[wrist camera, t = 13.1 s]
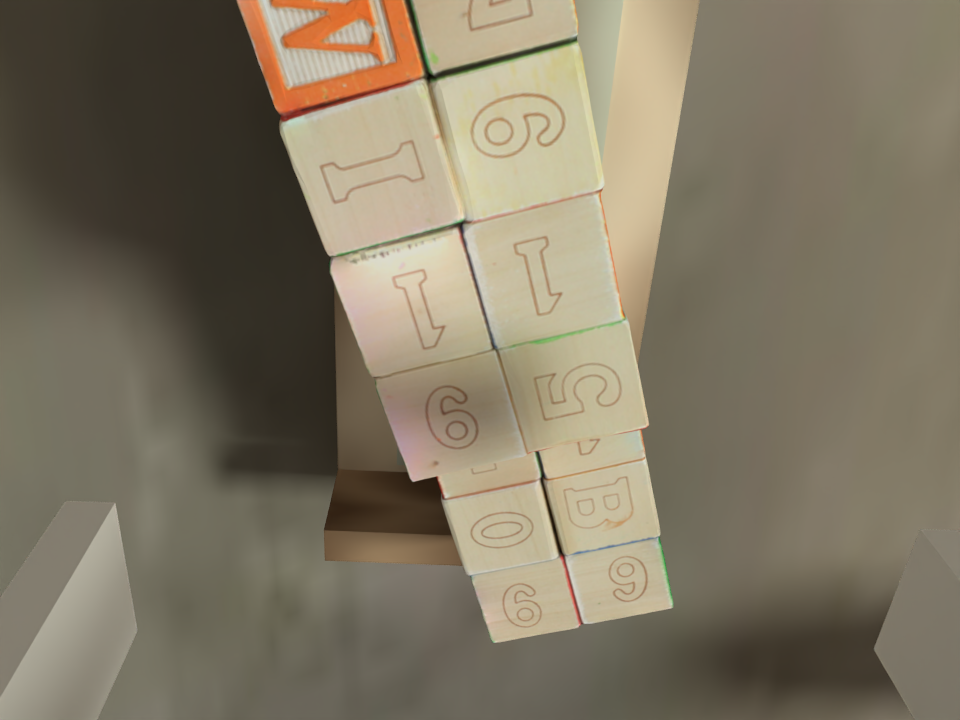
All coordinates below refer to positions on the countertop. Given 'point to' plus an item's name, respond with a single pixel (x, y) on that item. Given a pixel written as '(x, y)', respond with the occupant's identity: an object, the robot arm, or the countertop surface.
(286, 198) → the countertop surface
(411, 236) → the stack of blocks
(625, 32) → the cradle
